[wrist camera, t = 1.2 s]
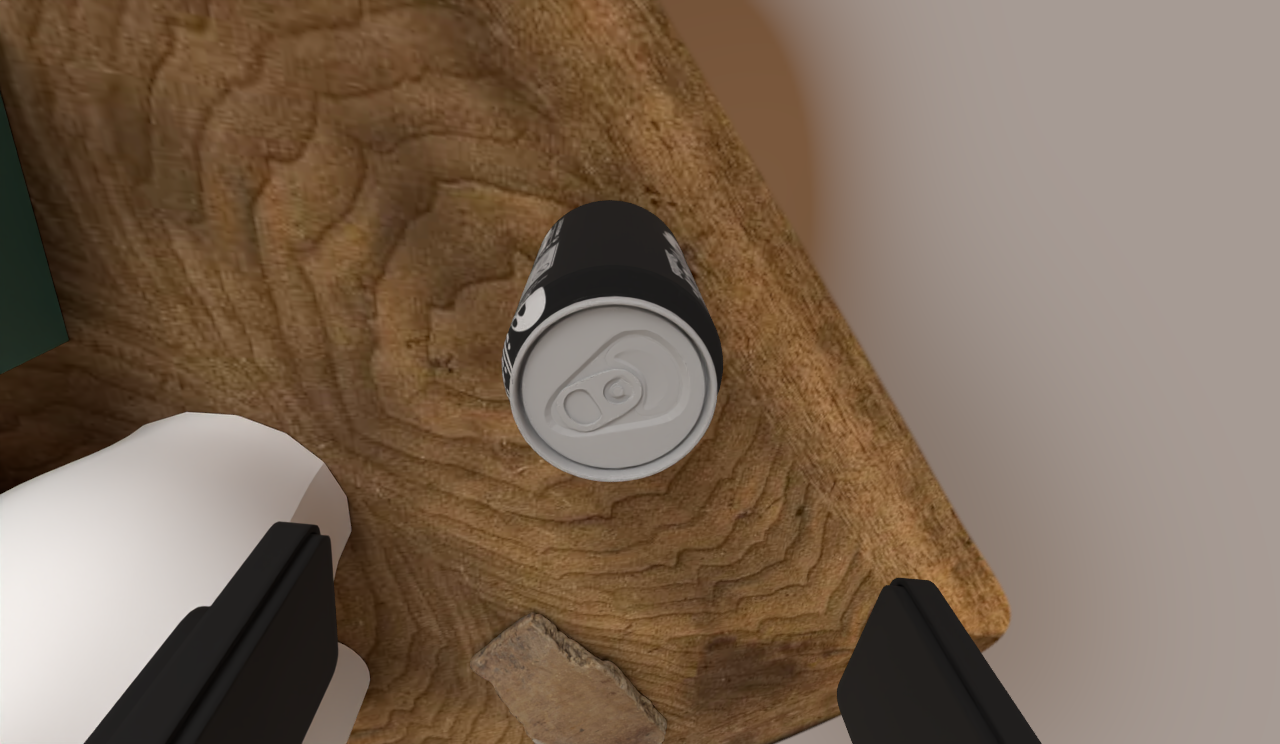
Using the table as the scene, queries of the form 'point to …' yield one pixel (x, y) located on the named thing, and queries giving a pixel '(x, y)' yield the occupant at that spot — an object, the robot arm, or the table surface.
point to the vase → (136, 557)
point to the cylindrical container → (340, 700)
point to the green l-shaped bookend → (23, 268)
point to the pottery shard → (565, 689)
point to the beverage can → (612, 347)
